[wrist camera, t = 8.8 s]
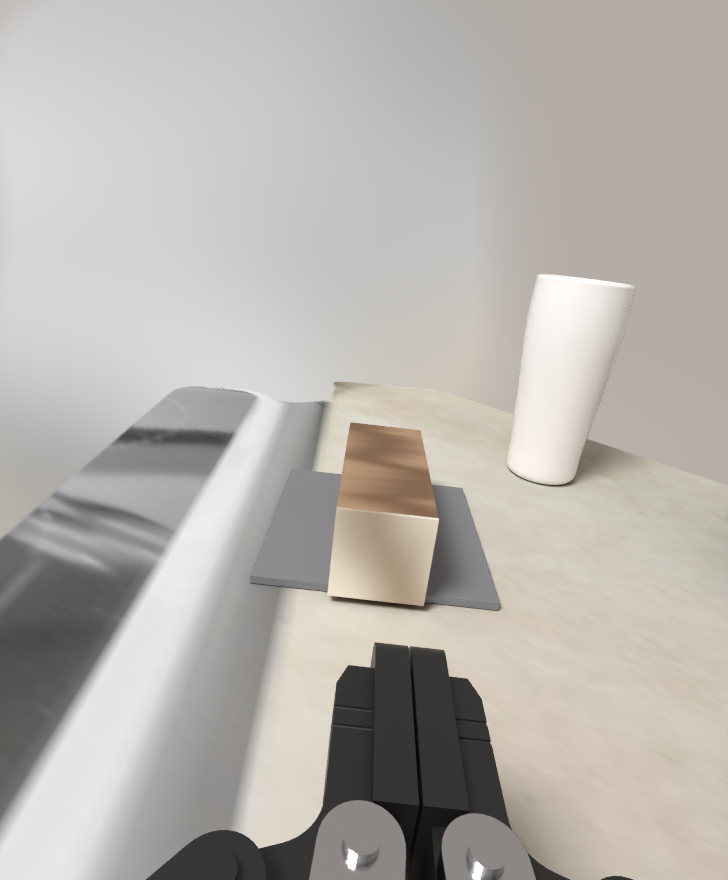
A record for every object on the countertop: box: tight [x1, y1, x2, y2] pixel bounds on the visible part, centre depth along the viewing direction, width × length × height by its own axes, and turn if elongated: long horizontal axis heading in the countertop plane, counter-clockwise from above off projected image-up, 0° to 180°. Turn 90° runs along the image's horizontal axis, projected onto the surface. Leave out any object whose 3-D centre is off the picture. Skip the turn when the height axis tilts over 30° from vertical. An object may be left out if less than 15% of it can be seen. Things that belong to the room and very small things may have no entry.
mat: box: [250, 469, 500, 610], centre depth 32 cm, size 12×13×1 cm
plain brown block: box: [327, 423, 439, 606], centre depth 30 cm, size 4×4×12 cm
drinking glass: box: [507, 274, 635, 485], centre depth 41 cm, size 7×7×15 cm
